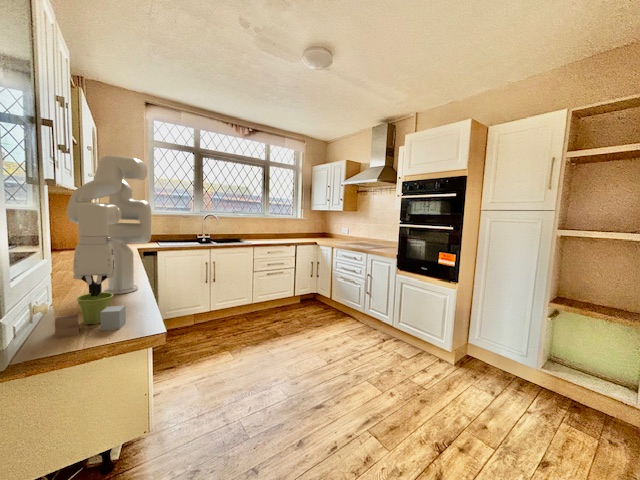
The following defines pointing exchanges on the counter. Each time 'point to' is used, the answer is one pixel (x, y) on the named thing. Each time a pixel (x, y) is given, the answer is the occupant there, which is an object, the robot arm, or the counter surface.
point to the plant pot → (93, 306)
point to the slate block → (113, 317)
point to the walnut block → (66, 326)
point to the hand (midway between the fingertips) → (95, 295)
